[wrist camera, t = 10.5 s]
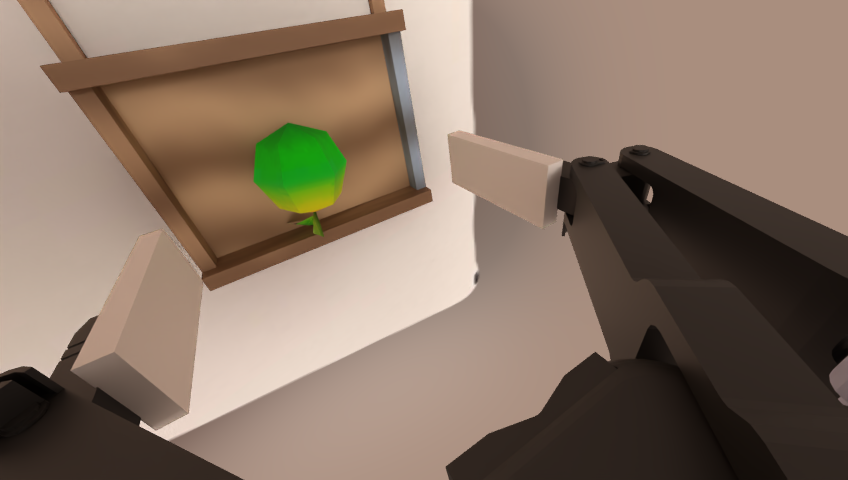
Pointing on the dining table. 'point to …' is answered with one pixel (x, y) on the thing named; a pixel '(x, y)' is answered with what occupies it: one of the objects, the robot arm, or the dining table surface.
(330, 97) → the frame
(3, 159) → the dining table surface
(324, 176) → the apple
